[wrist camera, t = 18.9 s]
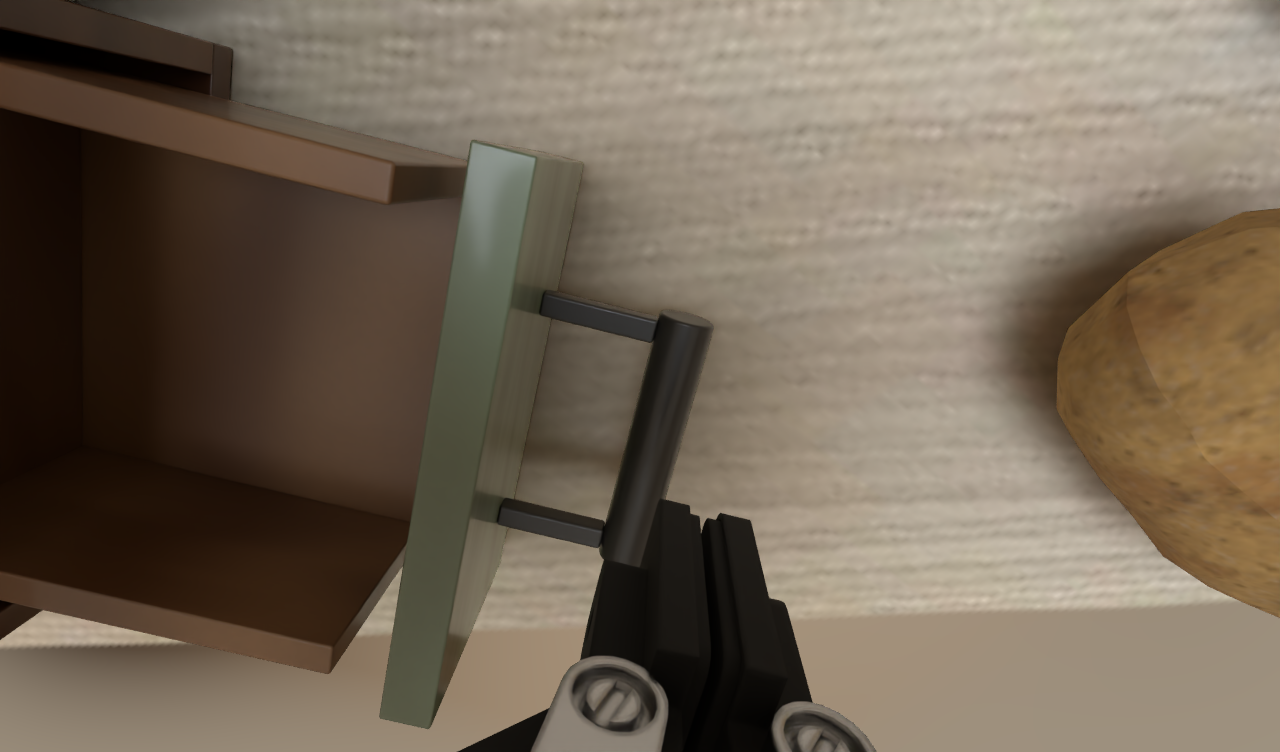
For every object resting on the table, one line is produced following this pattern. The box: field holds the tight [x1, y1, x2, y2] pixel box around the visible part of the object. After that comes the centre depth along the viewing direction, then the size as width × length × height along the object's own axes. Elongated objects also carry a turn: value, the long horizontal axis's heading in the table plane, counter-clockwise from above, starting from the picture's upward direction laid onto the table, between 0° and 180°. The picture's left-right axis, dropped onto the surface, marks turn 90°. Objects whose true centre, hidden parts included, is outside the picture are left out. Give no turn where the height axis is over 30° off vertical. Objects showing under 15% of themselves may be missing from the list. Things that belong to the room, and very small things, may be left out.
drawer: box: [0, 47, 714, 729], centre depth 16 cm, size 18×13×7 cm
